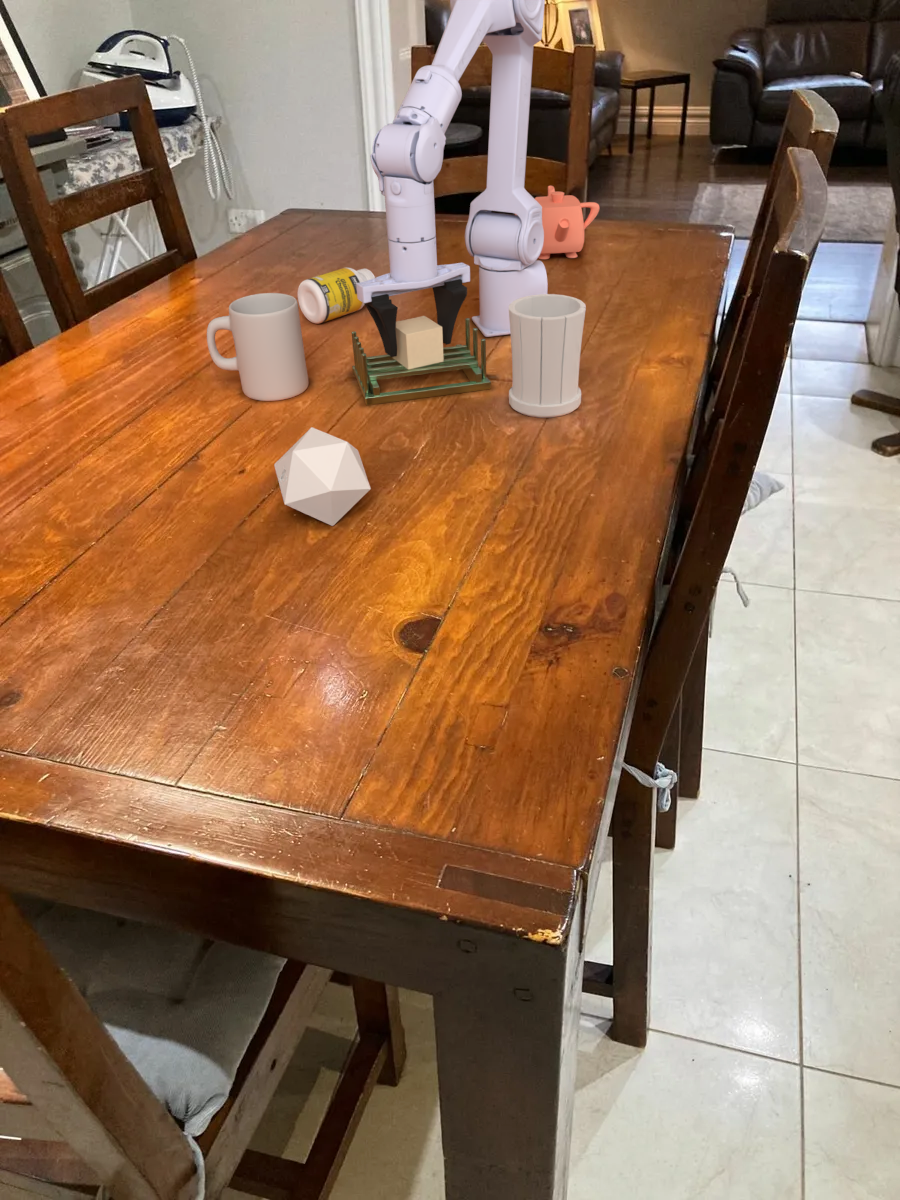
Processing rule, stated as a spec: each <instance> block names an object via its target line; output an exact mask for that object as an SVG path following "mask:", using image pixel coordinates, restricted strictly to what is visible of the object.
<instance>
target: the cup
mask: <svg viewBox="0 0 900 1200" xmlns="http://www.w3.org/2000/svg"><path fill="white" fill-rule="evenodd" d="M586 311H587V307H586V303H585V302H584V301H582V300H581V299H579V298H576V297H573V296H569V295H565V294H556V293H547V294H539V295H530V296H526V297H522V298H519V299H517V300H515V301H513V302H512V303H511V304H510V305H509V320H510V332H511V334H510V346H511V369H512V370H511V373H512V375H511V378H512V379H511V380H512V386H511V387H510V389H509V390H508V405H509V406H510V407H511V408H512V409H513V410H514V411H516V412H517V413H519V414H521V415H524V416H527V417H533V418H541V419H542V418H543V419H544V418H547V419H548V418H549V419H550V418H557V417H562V416H565V415H569V414H571V413H573V412H574V411H575V410H577V409H578V408H579V407H580V405H581V403H582V389H581V388H580V387H579V377H580V365H581V364H580V363H581V352H582V342H583V335H584V325H585V319H586Z"/></svg>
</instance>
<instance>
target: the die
mask: <svg viewBox="0 0 900 1200" xmlns="http://www.w3.org/2000/svg"><path fill="white" fill-rule="evenodd" d="M273 466H274V469H275V474H276V477H277V482H278V483H279V484H278V485H279V490H280V492H281V496H282V500H283V503H284V505H285V506H286V507H290V508H292V509H294V510H296V511H297V512H301V513H303V514H304V515H307V516H309V517H311V518H314V519H316V520H318V521H320V522H323V523H325V524H327V525H329V526H332V527H333V526H335V525H336V524H337V523H338V522H339V521H340V520H341V519H342V518H343V517H344V516H345V515H346V514H347V513H348V512H349V511H350V510H351V509H352V508H354V506H355V505H356V504H357V503H359V501H360V500H361V499H362V498H363V497H364V496H365V495H366V494H367V493H369V491H370V490H372V488H371V485H370V482H369V480H368V476H367V473H366V470H365V467H364V465H363V460H362V458H361V456H360V451H359V450H358V449H357V448H356V447H355V446H353V445H352V444H351V443H350V442H349V441H346V440H345V439H342V438H339V437H337V436H335V435H332V434H330V433H327V432H325V431H323V430H320V429H317V428H315V427H312V426H311V427H310V428H309V429H308V430H307V431H306V432H305V433H304V434H303V435H302V436H301V437H300V438H299V439H298V440H297V441H296V442H295V443H294V444H293V445H292V446H291V447H290V448H289V449H288V450H286V452H285V453H284V454H283V455H282V456H281V457H279V459H278V460H277V461H276V462H275V463H274V464H273Z"/></svg>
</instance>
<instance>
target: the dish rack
mask: <svg viewBox="0 0 900 1200" xmlns="http://www.w3.org/2000/svg"><path fill="white" fill-rule="evenodd" d="M464 327H465V331H464V332H465V334H464V335H465V344H461V343H460V344H455V345H454V346H453V345H452V346H445V347H443V358H444V362H439V363H435V364H431V365H426V366H422V367H418V368H414V369H409V370H408V369H407V368H406V367H404V366H403V365H402V364H400V363H399V362H398V361H396V360H395V359H394V358H392V357H391V356H389V355H388V354H387V353H386V354H379V355H371V356H367V353H365V349H364V347H362V341H360V338H359V336H357V331H354V330H353V331H351V342H352V352H353V361H354V365H351V368H352V369H351V370H352V374H353V376H354V378H355V380H356V382H357V385H358V387H359V390H360V392H361V394H362V396H363V397H362V398H363V399H364V404H365V406H371V405H373V406H374V405H380V404H387V403H394V402H395V403H396V402H402V401H409V400H416V399H417V400H418V399H426V398H433V397H441V396H450V395H455V394H463V393H464V394H465V393H471V392H479V391H480V392H481V391H487V390H491V389H492V381H491V380H490V379H489V378H488V377H487V342H486V341H487V339H485V338H482V339H480V361H481V362H480V364H481V367H480V366H479V338H478V336H479V335H478V330H479V328H478V327H473V328H472V351H473V352H472V354H473V355H472V354H471V319H470V318H469V317H466V318H465V319H464ZM458 370H462V371H463V373H464V374H465V376H466V377H467V379H468V380H469V381H463V382H456V383H448V384H440V385H432V386H424V387H417V388H408V389H400V390H392V391H384V392H381V389H380V385H379V383H378V381H379V380H387V379H395V378H403V377H404V378H405V377H411V376H418V375H427V374H434V373H442V372H443V373H444V372H450V371H451V372H452V371H458Z"/></svg>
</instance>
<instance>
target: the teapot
mask: <svg viewBox="0 0 900 1200" xmlns="http://www.w3.org/2000/svg"><path fill="white" fill-rule="evenodd" d="M534 199H535V200H536V201H537V202H538V203H539V204H540V205H541V206H542V225H543V229H544V243H543V248H542V251H541V253H540V255H539V257H538V258H537V259H538V260H548V259H550V258H551V254H565V257H566V258H568V259H575V258H578V253H579V252H581V251H582V249H583V247H584V244H585V230H586V229H587V228H588V227H589V226H590V224H591V223H592V222H593V221H594V220H595V218H597V216H598V215H599V212H600V204H599V203H597V202H594V201H586V202H581V201H580V200H579V198H577V197H576V196H575V195H570V194H566V195H565V192H563V191H556V190H555V187H554V186H553V185H548V186H547V196H536V197H534ZM584 208H585V209H586V208H587V209H590V210H589V211H590V212H589V214H588V215H587V218H586V219H585V221H584V214H583V209H584ZM514 215H517V214H514Z"/></svg>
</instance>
